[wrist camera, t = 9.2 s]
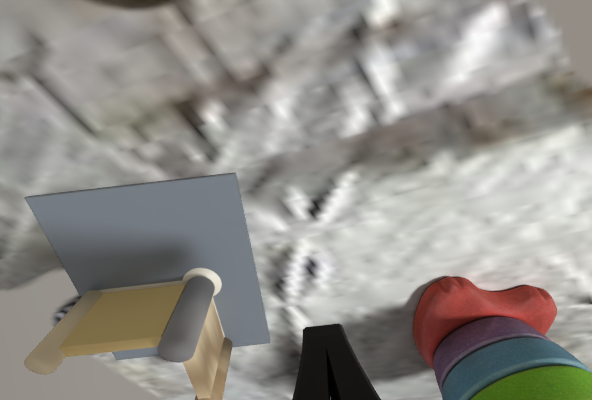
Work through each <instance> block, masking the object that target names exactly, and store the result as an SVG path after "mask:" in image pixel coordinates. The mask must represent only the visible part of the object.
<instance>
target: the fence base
mask: <svg viewBox="0 0 592 400" xmlns="http://www.w3.org/2000/svg"><path fill="white" fill-rule="evenodd" d="M231 350H232V341H231V340H230V339H228V338H226V337H224V335H223V332H222V329H221V325H220V322H219V319H218V315H217V312H216V309H215V306H214V302H213V299H212V300H211V303H210V306H209V309H208V312H207V315H206V319H205V322H204V325H203V328H202V331H201V334H200V337H199V340H198V344H197V347H196V350H195V353H194V355H193V357H192V358H191V359H190V360H188V361H185V362H183V364H184V366H185V369H186V371H187V374H188V376H189V378H190V381H191V383H192V385H193V388H194V390H195V393H196V398H195V400H222V398H223V393H224V387H225V382H226V377H227V371H228V366H229V361H230V355H231Z"/></svg>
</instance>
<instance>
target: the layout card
mask: <svg viewBox="0 0 592 400" xmlns="http://www.w3.org/2000/svg"><path fill="white" fill-rule="evenodd" d="M25 199H26V201H27V203H28V205H29V206H30V208H31V210H32V212H33V213H34V215H35V217H36V219H37V221H38V222H39V224H40V226H41V228H42V229H43V231H44V233H45V235H46V236H47V238H48V240H49V242H50V243H51V245H52V247H53V249H54V251H55V252H56V254H57V256H58V258H59V259H60V261H61V263H62V265H63V266H64V268H65V270H66V272H67V273H68V275H69V277H70V279H71V281H72V282H73V284H74V286H75V288H76V289H77V291H78V293H79V295H80V296H81V297H82V296H83V295H84V294H85V293H86V292H87V291H90V290H97V291H100V292H102V293H111V292H120V291H130V290H139V289H148V288H157V287H166V286H175V285H184V284H187V282H188V280H189V279H191V278H192V277H195V276H203V277H206V278H208V279H210V280H211V281H212V282H213V283H214V285H215V290H214V294H213V297H212V299H213V302H214V306H215V309H216V312H217V315H218V319H219V322H220V325H221V329H222V332H223V335H224V337H226V338H228V339H230V340H231V341H232V347H239V346H248V345H257V344H266V343H270V336H269V331H268V326H267V321H266V317H265V312H264V307H263V302H262V297H261V292H260V288H259V283H258V278H257V273H256V268H255V263H254V259H253V254H252V249H251V244H250V239H249V235H248V230H247V225H246V220H245V215H244V210H243V206H242V201H241V196H240V191H239V186H238V182H237V177H236V173H228V174H220V175H211V176H202V177H193V178H185V179H176V180H167V181H158V182H150V183H141V184H132V185H123V186H115V187H106V188H97V189H89V190H80V191H71V192H62V193H54V194H45V195H36V196H29V197H26V198H25ZM112 353H113V355H114V356H115V358H116V360H122V359H131V358H140V357H149V356H158V355H160V354H159V353H158V350H157V347H151V348H142V349H133V350H124V351H115V352H112Z"/></svg>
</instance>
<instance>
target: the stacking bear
mask: <svg viewBox="0 0 592 400" xmlns="http://www.w3.org/2000/svg"><path fill="white" fill-rule="evenodd" d="M556 314H557V308H556V306H555V302H554V301H553V299H552V297H551V296H550V294H549V293H548V292H547V291H545V290H544V289H541V288H535V287H533V286H522V287H518V288H515V289H512V290H508V291H502V292H490V291H485V290H481V289H479V288H477V287H476V286H475V285H474V284H473V283H472V282H470V281H469V280H467V279H465V278H461V277H460V278H453V277H446V278H444V279H442V280H440V281H438V282H435V283H434V284H432V285H431V286H430V287H429V288H428V289H427V290H426V291H425V293H424V294H423V296H422V298H421V300H420V302H419V304H418V307H417V310H416V313H415V318H414V326H413V331H414V340H415V344H416V346H417V348H418V351H419V353H420V354H421V356H422V357H423V359H424V360H425V361H426V362H427V364H428V365H429V366H430V367H431V368H433V369H434V371H435V375H436V379H437V383H438V386H439V389H440V392H441V394H442V399H443V400H592V372H591V371H590V370H589V369H588V368H587V367H586V366H585V365H584V364H583V363H581V362H580V361H579V360H578V359H577V358H575V357H574V356H573V355H571V354H570V353H569V352H568V351H566V350H565V349H563V348H562V347H561V346H559V345H558V344H556V343H554V342H552V341H551V340H550V339H548V338H547V337H546V336H545V334H546V333H547V331H548V330H549V328H550V326H551V325H552V323H553V321H554V319H555V317H556Z"/></svg>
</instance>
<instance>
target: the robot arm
mask: <svg viewBox="0 0 592 400" xmlns="http://www.w3.org/2000/svg"><path fill="white" fill-rule="evenodd" d="M330 396H331V400H381V399H380V397H379V396H378V394H377V393H376V391H375V389H374V388H373V386H372V384H371V383H370V381H369V379H368V377H367V376H366V374H365V372H364V371H363V369H362V367H361V365H360V363H359V362H358V360H357V358H356V356H355V354H354V352H353V350H352V348H351V346H350V344H349V342H348V339H347V337H346V335H345V332H344V330H343V327H342V325H340V324H331V325H322V326H313V327H306V328H305V329H303V344H302V353H301V360H300V366H299V372H298V376H297V381H296V386H295V391H294V395H293V399H292V400H330Z"/></svg>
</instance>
